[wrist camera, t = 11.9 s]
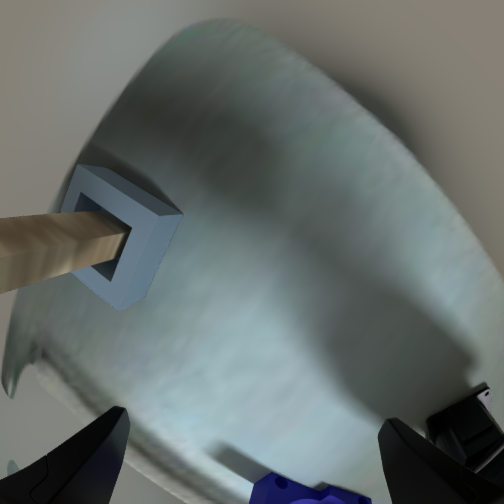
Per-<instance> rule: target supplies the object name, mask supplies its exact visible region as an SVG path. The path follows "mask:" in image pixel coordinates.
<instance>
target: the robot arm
mask: <svg viewBox="0 0 504 504" xmlns="http://www.w3.org/2000/svg"><path fill="white" fill-rule="evenodd" d="M490 413H491V389H490V388H489V387H485V388H484V389H482V390H480V391H479V392H477V393H475V394H473V395H472V396H470V397H468V398H466V399H465V400H463V401H461V402H459V403H457V404H455V405H453V406H451V407H449V408H447V409H446V410H444V411H441V412H439V413H437V414H435V415H433V416H431V417H429V418H428V419H427V422H426V423H427V430H428V438H429V441H428V440H427V439H425V438H424V437H423V436H421V435H420V434H418V433H417V432H416V431H414V430H413V429H412V428H410V427H409V426H408V425H406V424H405V423H403V422H402V421H401V420H399V419H398V418H389V419H386V420H385V422H384V424H383V425H382V427H381V429H380V431H379V433H378V442H379V448H380V454H381V460H382V466H383V471H384V475H385V479H386V482H387V486H388V489H389V493H390V496H391V500H392V504H504V432H503V431H502V430H501V428H500V427H499V425H498V424H497V422H496V421H495V419H494V418H493V417H492V415H491V414H490ZM432 421H433V422H432ZM129 431H130V421H129V417H128V413H127V410H126V408H124V407H119V406H113V407H112V408H111V409H109V410H108V411H107V412H105V413H104V414H102V415H101V416H100V417H98V418H97V419H96V420H94V421H93V422H92V423H90V424H89V425H87V426H86V427H85V428H83V429H82V430H80V431H79V432H78V433H76V434H75V435H73V436H72V437H71V438H69V439H68V440H66V441H65V442H64V443H62V444H61V445H59V446H58V447H57V448H55V449H53V450H52V451H51V452H49V453H48V454H47V456H46V455H45V456H43V457H42V458H40V459H39V460H37V461H36V462H34V463H32V464H31V465H29V466H27V467H26V468H24V469H22V470H20V471H18V472H16V473H14V474H12V475H9V476H7V477H5V478H3V479H1V480H0V504H109V502H110V498H111V496H112V493H113V489H114V487H115V484H116V481H117V478H118V475H119V472H120V469H121V466H122V463H123V459H124V454H125V449H126V445H127V440H128V436H129Z"/></svg>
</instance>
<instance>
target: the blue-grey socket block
mask: <svg viewBox="0 0 504 504" xmlns="http://www.w3.org/2000/svg"><path fill="white" fill-rule="evenodd" d="M103 210H107V211H109V212H110V213H112V214H113V215H115V216H116V217H117V218H119V219H120V220H122V221H123V222H125V223H126V224H128V225H129V226H130V227H132V230H131V233H130V235H129V237H128V240H127V242H126V245H125V247H124V250H123V252H122V255H121V257H118V258H115V259H111V260H108V261H105V262H101V263H98V264H94V265H91V266H88V267H84V268H81V269H78V270H74V271H71V273H73V274H74V275H75V276H76V277H77V278H78V279H79V280H81V281H82V282H83V283H84V284H85V285H86V286H88V287H89V288H90V289H91V290H92V291H94V292H95V293H96V294H97V295H98V296H100V297H101V298H102V299H103V300H105V301H106V302H107V303H108V304H109V305H111V306H112V307H113V308H115V309H116V310H117V311H118V312H119V311H121V310H123V309H125V308H126V307H128V306H130V305H132V304H133V303H135V302H137V301H139V300H141V299H142V298H144V297H145V295H146V293H147V290H148V288H149V286H150V284H151V281H152V279H153V277H154V275H155V272H156V270H157V268H158V266H159V264H160V262H161V259H162V257H163V255H164V253H165V251H166V249H167V247H168V245H169V243H170V240H171V238H172V236H173V234H174V232H175V230H176V228H177V226H178V224H179V222H180V220H181V218H182V216H183V214H182V213H181V212H179V211H177V210H176V209H174V208H172V207H171V206H169V205H167V204H166V203H164V202H162V201H161V200H159V199H158V198H156V197H154V196H153V195H151V194H149V193H148V192H146V191H144V190H143V189H141V188H139V187H138V186H136V185H135V184H133V183H131V182H130V181H128V180H126V179H125V178H123V177H121V176H120V175H118V174H117V173H115V172H113V171H112V170H110V169H108V168H105V167H98V166H91V165H84V164H77V167H76V169H75V172H74V174H73V177H72V180H71V182H70V185H69V188H68V190H67V193H66V196H65V199H64V202H63V205H62V208H61V211H60V213H70V212H85V211H103Z"/></svg>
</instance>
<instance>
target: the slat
mask: <svg viewBox="0 0 504 504" xmlns="http://www.w3.org/2000/svg"><path fill="white" fill-rule="evenodd" d="M131 230H132V227H130V226H129V225H128V224H126V223H125V222H123V221H122V220H120V219H119V218H117V217H116V216H115V215H113V214H112V213H110V212H109V211H107V210H103V211H85V212H70V213H56V214H43V215H32V216H20V217H10V218H0V294H2V293H5V292H8V291H11V290H14V289H17V288H20V287H23V286H27V285H30V284H33V283H36V282H39V281H42V280H45V279H49V278H52V277H55V276H58V275H61V274H65V273H68V272H71V271H74V270H78V269H81V268H84V267H88V266H91V265H94V264H98V263H101V262H105V261H108V260H111V259H115V258H118V257H121V255H122V252H123V250H124V247H125V245H126V242H127V240H128V237H129V235H130V233H131Z"/></svg>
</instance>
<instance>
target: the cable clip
mask: <svg viewBox="0 0 504 504" xmlns="http://www.w3.org/2000/svg"><path fill="white" fill-rule="evenodd" d="M249 504H372V502H371V499H370V498H367V497H363V496H360V495H357V494H354V493H350V492H347V491H344V490H341V489H338V488H336V487H333V486H329V487H327V488H326V489H324V490H322V491H321V492H319V491H316V490H313V489H311V488H308V487H305V486H303V485H300V484H298V483H295V482H293V481H290V480H288V479H286V478H283V477H281V476H279V475H276V474H274V473H272V472H271V473H269V474H268V475H267V476H265V477H264V478H262V479H261V480H259V481H258V482H256V483H255V484H254V486H253V490H252V494H251V498H250V501H249Z"/></svg>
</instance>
